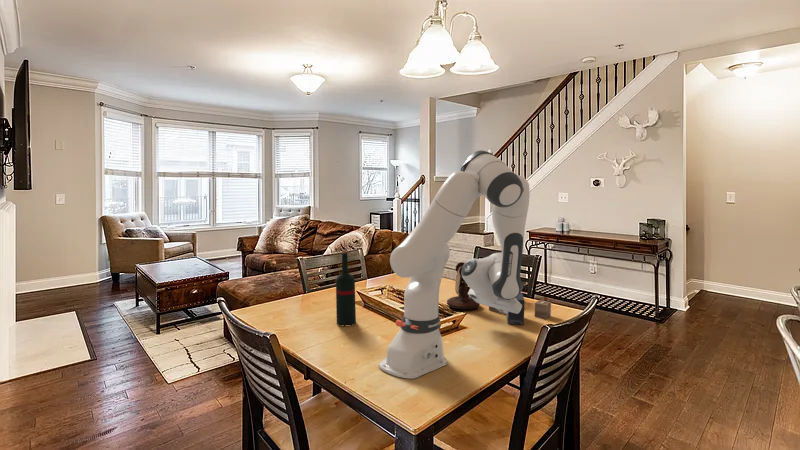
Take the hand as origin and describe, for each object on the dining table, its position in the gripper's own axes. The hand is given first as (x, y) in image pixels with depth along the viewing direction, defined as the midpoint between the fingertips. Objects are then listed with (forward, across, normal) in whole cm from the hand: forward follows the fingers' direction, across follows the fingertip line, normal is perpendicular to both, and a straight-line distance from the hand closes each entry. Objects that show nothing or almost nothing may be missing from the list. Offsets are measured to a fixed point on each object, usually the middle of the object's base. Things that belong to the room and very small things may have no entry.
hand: (504, 311), depth 162 cm
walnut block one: (+20, -3, -11) cm, 23 cm away
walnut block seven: (+14, +15, -6) cm, 22 cm away
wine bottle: (-27, +45, +35) cm, 63 cm away
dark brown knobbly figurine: (+9, +28, 0) cm, 29 cm away
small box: (+11, +1, -2) cm, 11 cm away
